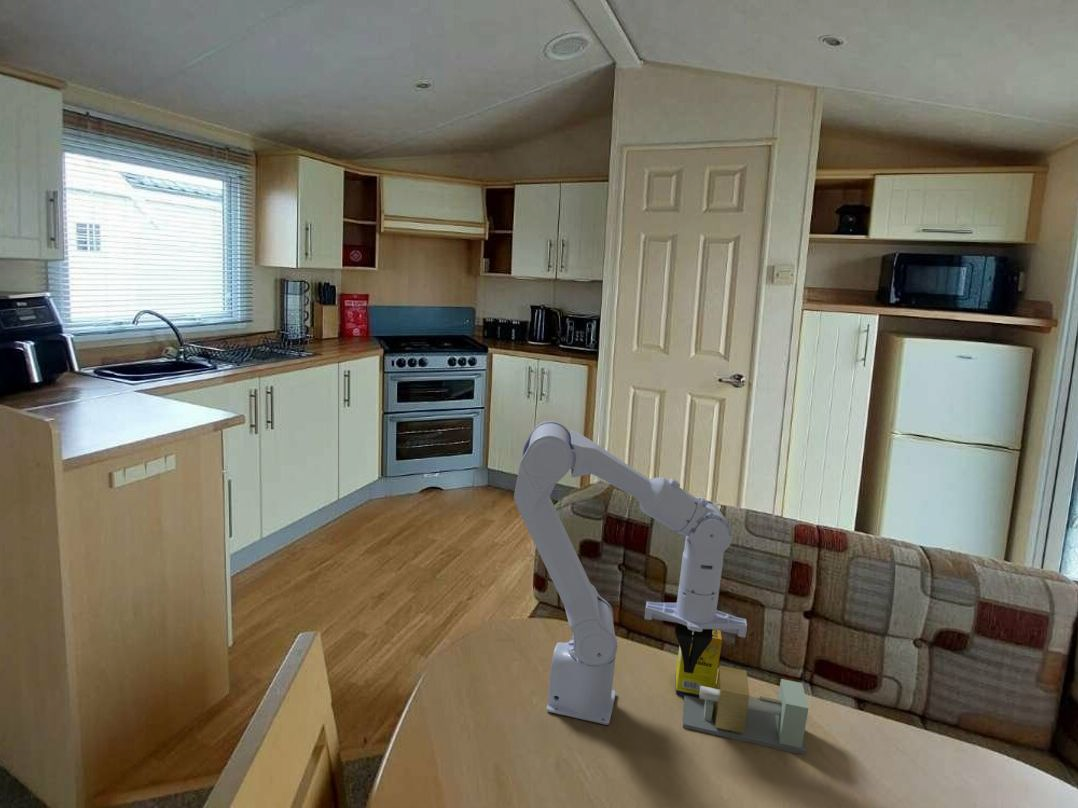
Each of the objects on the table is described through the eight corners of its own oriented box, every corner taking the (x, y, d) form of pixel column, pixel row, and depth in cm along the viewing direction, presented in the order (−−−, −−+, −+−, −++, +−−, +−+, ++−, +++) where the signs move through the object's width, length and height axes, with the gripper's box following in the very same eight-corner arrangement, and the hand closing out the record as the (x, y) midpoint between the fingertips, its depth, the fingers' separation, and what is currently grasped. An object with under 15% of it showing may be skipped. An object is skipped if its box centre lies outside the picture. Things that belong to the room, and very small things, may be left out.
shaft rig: (682, 727, 95) (688, 685, 94) (684, 698, 102) (689, 658, 101) (805, 754, 92) (812, 711, 90) (798, 722, 98) (805, 681, 97)
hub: (715, 727, 95) (720, 689, 93) (714, 701, 100) (719, 665, 99) (743, 733, 94) (749, 695, 92) (740, 706, 100) (746, 670, 98)
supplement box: (713, 702, 102) (723, 639, 99) (675, 695, 103) (683, 632, 101) (711, 680, 107) (720, 620, 105) (675, 673, 108) (682, 613, 106)
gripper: (647, 589, 92) (637, 674, 95) (752, 608, 89) (740, 695, 92) (650, 568, 99) (641, 648, 102) (749, 585, 96) (737, 667, 99)
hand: (688, 669), depth 97 cm, fingers closed
